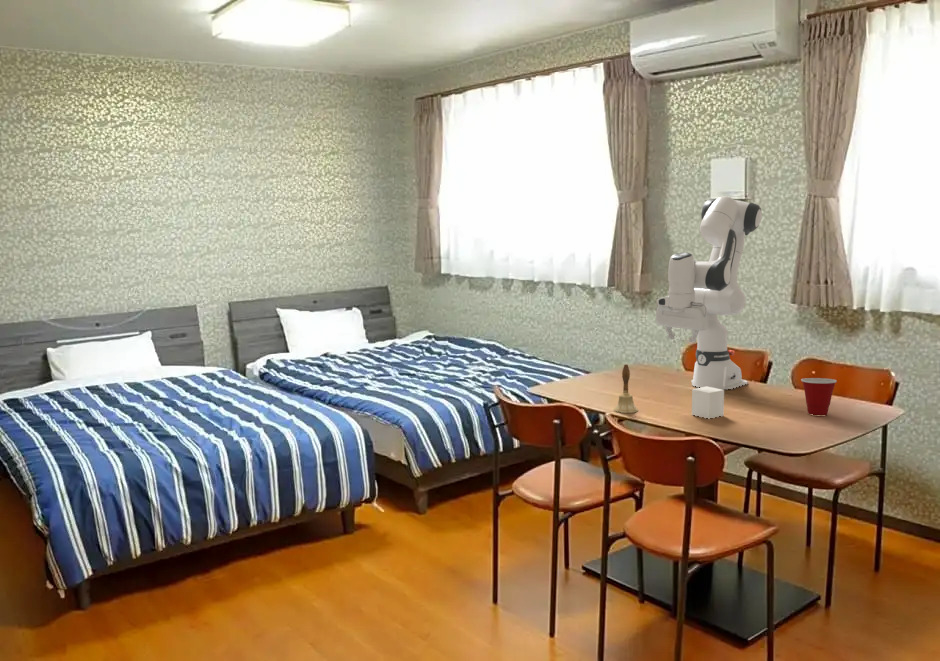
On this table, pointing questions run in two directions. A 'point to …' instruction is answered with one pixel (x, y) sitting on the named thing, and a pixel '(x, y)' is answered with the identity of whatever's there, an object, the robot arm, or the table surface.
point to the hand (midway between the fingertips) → (681, 340)
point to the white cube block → (708, 402)
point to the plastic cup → (818, 394)
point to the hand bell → (625, 395)
